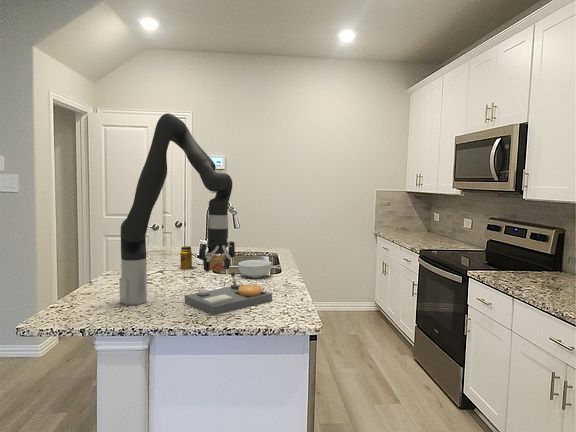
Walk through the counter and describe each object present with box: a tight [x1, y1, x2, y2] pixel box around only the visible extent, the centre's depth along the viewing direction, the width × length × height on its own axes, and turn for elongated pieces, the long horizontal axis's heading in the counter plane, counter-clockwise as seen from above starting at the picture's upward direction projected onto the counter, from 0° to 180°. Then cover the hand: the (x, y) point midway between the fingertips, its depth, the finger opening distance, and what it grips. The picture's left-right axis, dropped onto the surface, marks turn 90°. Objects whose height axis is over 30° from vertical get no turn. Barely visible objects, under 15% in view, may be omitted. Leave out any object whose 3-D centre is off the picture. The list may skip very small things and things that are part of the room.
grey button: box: [198, 289, 209, 296], centre depth 164 cm, size 4×4×2 cm
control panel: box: [184, 284, 273, 316], centre depth 165 cm, size 28×20×4 cm
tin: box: [202, 254, 226, 272], centre depth 225 cm, size 15×3×8 cm, turn 62°
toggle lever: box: [230, 271, 237, 285], centre depth 175 cm, size 2×2×6 cm
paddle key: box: [203, 294, 233, 304], centre depth 157 cm, size 10×5×2 cm, turn 134°
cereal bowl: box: [238, 259, 273, 279], centre depth 212 cm, size 17×17×7 cm
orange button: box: [239, 284, 263, 296], centre depth 167 cm, size 9×9×2 cm
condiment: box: [178, 245, 197, 271], centre depth 228 cm, size 7×8×12 cm
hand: (217, 270), depth 155 cm, fingers open, 8 cm apart
